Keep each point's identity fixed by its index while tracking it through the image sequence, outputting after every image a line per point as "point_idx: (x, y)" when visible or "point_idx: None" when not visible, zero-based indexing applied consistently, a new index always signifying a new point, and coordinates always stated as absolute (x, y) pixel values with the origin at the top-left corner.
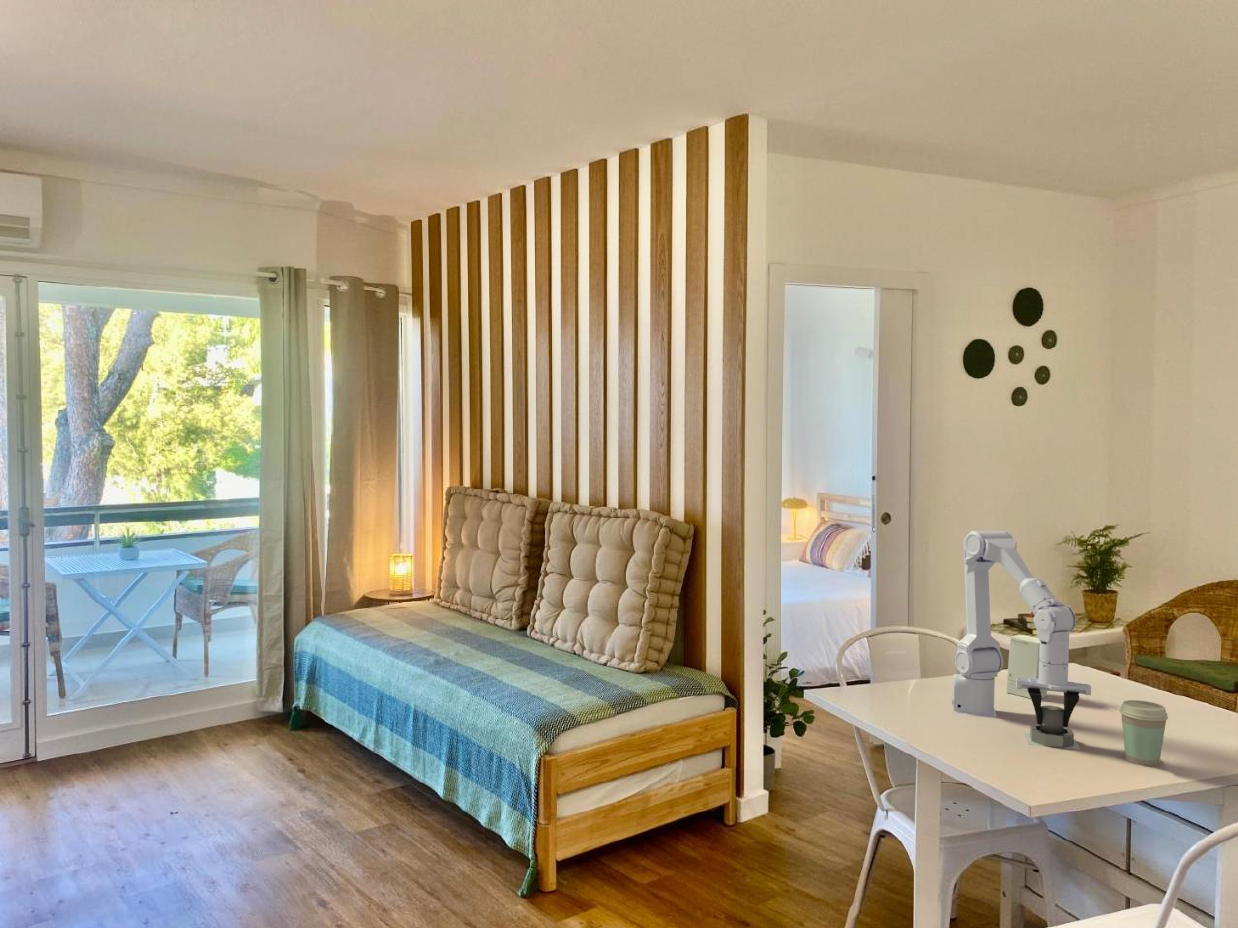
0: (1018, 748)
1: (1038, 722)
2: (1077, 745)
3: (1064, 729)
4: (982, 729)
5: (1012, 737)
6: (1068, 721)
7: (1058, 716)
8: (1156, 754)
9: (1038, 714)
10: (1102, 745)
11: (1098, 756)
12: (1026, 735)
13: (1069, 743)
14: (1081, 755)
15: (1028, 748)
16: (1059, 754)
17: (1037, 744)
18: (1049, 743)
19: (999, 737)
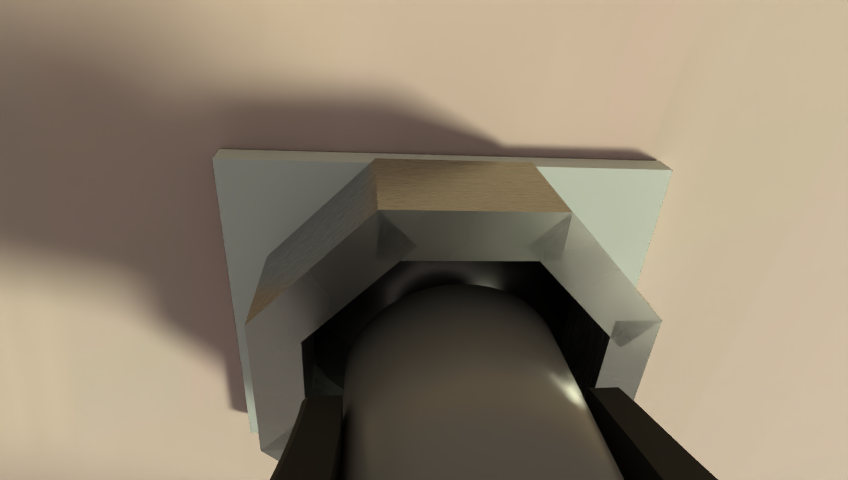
0: (766, 83)
1: (625, 400)
2: (232, 275)
3: None
4: (814, 426)
5: (686, 345)
6: (287, 447)
7: (437, 469)
8: None
9: (694, 475)
10: (44, 393)
11: (34, 80)
12: None
13: (303, 235)
14: (205, 56)
15: (671, 115)
16: (424, 14)
17: (588, 186)
18: (501, 169)
19: (784, 315)
